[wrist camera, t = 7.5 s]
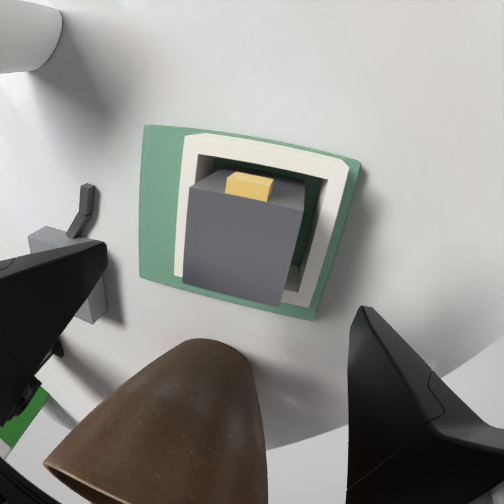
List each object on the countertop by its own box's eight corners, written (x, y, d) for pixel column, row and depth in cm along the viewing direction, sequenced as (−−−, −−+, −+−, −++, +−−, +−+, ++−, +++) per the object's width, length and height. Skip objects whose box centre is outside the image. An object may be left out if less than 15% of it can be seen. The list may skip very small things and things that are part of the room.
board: (312, 312, 21) (311, 350, 17) (145, 270, 22) (119, 298, 18) (357, 160, 16) (372, 171, 12) (151, 124, 17) (116, 128, 13)
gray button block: (107, 308, 25) (90, 327, 22) (56, 288, 25) (39, 302, 23) (97, 184, 19) (72, 195, 17) (42, 176, 20) (18, 185, 17)
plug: (288, 250, 18) (278, 307, 12) (218, 234, 18) (182, 283, 13) (307, 169, 16) (307, 195, 10) (230, 154, 16) (190, 172, 11)
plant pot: (112, 305, 24) (5, 435, 10) (274, 287, 20) (211, 530, 6) (175, 408, 30) (124, 521, 16) (305, 410, 26) (285, 559, 12)
